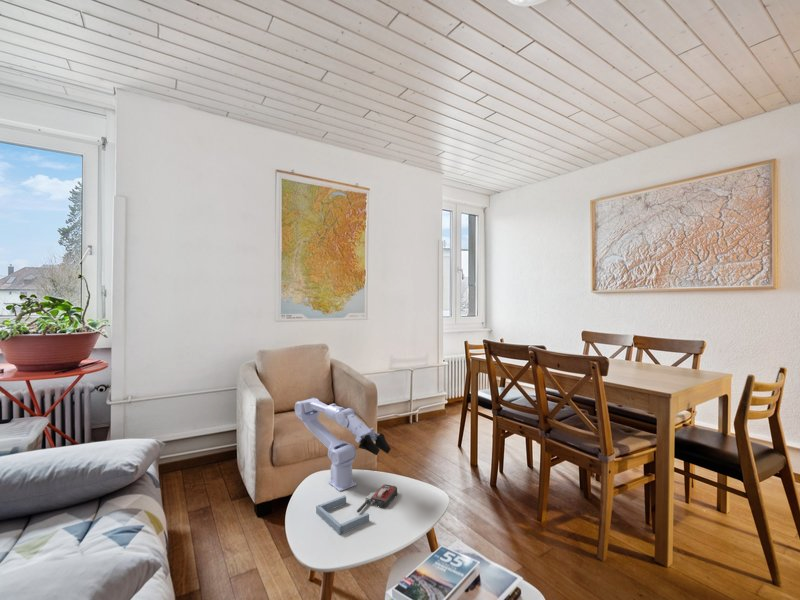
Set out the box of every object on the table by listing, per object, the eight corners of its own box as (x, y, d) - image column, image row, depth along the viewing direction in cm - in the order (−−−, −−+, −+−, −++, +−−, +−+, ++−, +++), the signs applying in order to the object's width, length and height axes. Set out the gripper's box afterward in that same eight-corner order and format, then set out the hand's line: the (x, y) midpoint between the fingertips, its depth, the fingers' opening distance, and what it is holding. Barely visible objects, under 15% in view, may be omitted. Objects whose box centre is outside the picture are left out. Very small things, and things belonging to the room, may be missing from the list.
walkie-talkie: (379, 489, 154) (354, 514, 135) (379, 478, 154) (354, 502, 135) (399, 493, 150) (377, 520, 132) (399, 482, 150) (377, 507, 132)
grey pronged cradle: (316, 513, 136) (316, 506, 136) (344, 502, 143) (344, 495, 143) (339, 534, 123) (339, 527, 123) (369, 521, 130) (369, 514, 130)
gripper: (353, 421, 144) (377, 443, 137) (375, 421, 156) (398, 441, 148) (344, 437, 144) (368, 460, 137) (367, 435, 156) (390, 457, 149)
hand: (383, 451), depth 143 cm, fingers open, 7 cm apart
